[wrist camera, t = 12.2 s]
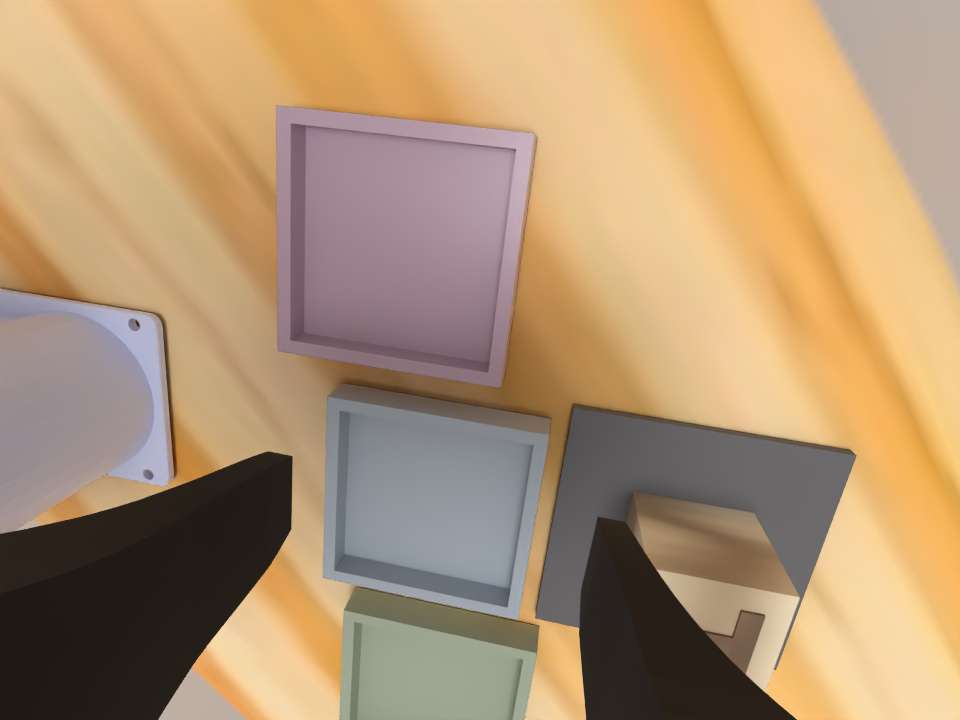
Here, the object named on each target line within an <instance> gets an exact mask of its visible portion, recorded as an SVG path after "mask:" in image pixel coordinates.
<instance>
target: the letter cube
mask: <svg viewBox="0 0 960 720" xmlns="http://www.w3.org/2000/svg"><path fill="white" fill-rule="evenodd" d="M626 523H627V525H628V526H629V528H630V529H631V531H632V533H633V534H634V536H635V537H636V539H637V540H638V542H639V544H640V545H641V547H642V548H643V550H644V552H645V553H646V555H647V556H648V558H649V559H650V561H651V562H652V564H653V565H654V567H655V568H656V570H657V571H658V573H659V574H660V576H661V577H662V578H663V580H664V581H665V583H666V584H667V585H668V587H669V588H670V590H671V591H672V592H673V594H674V595H675V596H676V598H677V599H678V600H679V602H680V603H681V604H682V605H683V607H684V608H685V609H686V610H687V612H688V613H689V614H690V615H691V617H692V618H693V619H694V620H695V621H696V623H697V624H698V625H699V626H700V627H701V628H702V630H703V631H704V632H705V633H706V634H707V635H708V636H709V637H710V638H711V639H712V641H713V642H714V643H715V644H716V645H717V646H718V647H719V648H720V649H721V650H722V651H723V652H724V653H725V654H726V655H727V657H728V658H729V659H730V660H731V661H732V662H733V663H734V664H735V665H736V666H737V667H738V668H739V669H740V670H742V671H743V672H744V673H745V674H746V675H747V676H748V677H749V678H750V679H751V680H752V681H753V682H754V683H755V684H757V685H758V686H759V687H760V688H761V689H762V690H763V691H764V692H765V691H766V689H767V686H768V683H769V680H770V678H771V675H772V672H773V670H774V667H775V664H776V661H777V659H778V656H779V653H780V651H781V648H782V645H783V642H784V640H785V637H786V634H787V632H788V629H789V626H790V623H791V621H792V618H793V615H794V613H795V610H796V607H797V604H798V602H799V599H800V597H799V595H798V593H797V591H796V589H795V587H794V585H793V584H792V582H791V580H790V578H789V576H788V574H787V573H786V571H785V569H784V567H783V565H782V563H781V561H780V560H779V558H778V556H777V554H776V552H775V550H774V549H773V547H772V545H771V543H770V541H769V539H768V537H767V536H766V534H765V532H764V530H763V528H762V526H761V525H760V523H759V521H758V519H757V517H756V515H755V513H751V512H746V511H740V510H735V509H729V508H724V507H718V506H713V505H707V504H701V503H696V502H690V501H685V500H679V499H674V498H668V497H662V496H657V495H651V494H646V493H640V492H635V491H633V494H632V499H631V503H630V507H629V512H628V516H627V521H626Z"/></svg>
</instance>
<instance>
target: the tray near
mask: <svg viewBox="0 0 960 720" xmlns="http://www.w3.org/2000/svg"><path fill="white" fill-rule="evenodd" d="M536 144H537V136H536V135H535V134H534V133H526V132H517V131H508V130H498V129H489V128H480V127H471V126H462V125H453V124H444V123H434V122H425V121H416V120H407V119H398V118H389V117H380V116H370V115H361V114H352V113H343V112H334V111H325V110H316V109H306V108H297V107H288V106H279V105H276V153H277V297H278V351H280V352H286V353H292V354H298V355H304V356H310V357H316V358H322V359H328V360H334V361H340V362H346V363H352V364H358V365H364V366H370V367H376V368H382V369H388V370H394V371H400V372H406V373H412V374H419V375H425V376H431V377H437V378H443V379H449V380H455V381H461V382H467V383H473V384H479V385H485V386H491V387H497V388H500V387H501V385H502V382H503V379H504V376H505V372H506V365H507V358H508V350H509V343H510V336H511V328H512V321H513V314H514V306H515V299H516V292H517V284H518V277H519V269H520V262H521V255H522V247H523V240H524V233H525V225H526V218H527V211H528V203H529V196H530V189H531V181H532V174H533V167H534V159H535V152H536Z"/></svg>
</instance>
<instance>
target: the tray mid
mask: <svg viewBox="0 0 960 720" xmlns="http://www.w3.org/2000/svg"><path fill="white" fill-rule="evenodd" d="M550 425H551V419H550V418H545V417H539V416H533V415H527V414H521V413H515V412H509V411H504V410H498V409H492V408H486V407H480V406H474V405H468V404H463V403H457V402H451V401H445V400H439V399H433V398H427V397H422V396H416V395H410V394H404V393H398V392H392V391H386V390H381V389H375V388H369V387H363V386H357V385H351V384H346V383H342V384H341V385H340V386H339V387H338V388H337V389H335V390H334V391H333V392H332V393H331V394H330V395H329V396H327V430H326V471H325V512H324V553H323V578H326V579H331V580H335V581H340V582H345V583H349V584H354V585H358V586H363V587H368V588H372V589H377V590H382V591H386V592H391V593H396V594H400V595H405V596H409V597H414V598H419V599H423V600H428V601H433V602H437V603H442V604H446V605H451V606H456V607H460V608H465V609H470V610H474V611H479V612H483V613H488V614H493V615H497V616H502V617H507V618H511V619H516V620H518V617H519V611H520V605H521V599H522V594H523V588H524V582H525V576H526V570H527V564H528V558H529V552H530V547H531V541H532V535H533V529H534V523H535V517H536V511H537V505H538V500H539V494H540V488H541V482H542V476H543V470H544V464H545V458H546V453H547V447H548V441H549V435H550Z"/></svg>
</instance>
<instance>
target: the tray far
mask: <svg viewBox="0 0 960 720" xmlns="http://www.w3.org/2000/svg"><path fill="white" fill-rule="evenodd" d="M538 632H539V626H536V625H531V624H527V623H522V622H518V621H513V620H508V619H504V618H499V617H494V616H490V615H485V614H481V613H476V612H471V611H467V610H462V609H457V608H453V607H448V606H444V605H439V604H434V603H430V602H425V601H420V600H416V599H411V598H407V597H402V596H397V595H393V594H388V593H383V592H379V591H374V590H370V589H365V588H360V587H356V589H355V591H354V593H353V594H352V596H351V598H350V600H349V602H348V604H347V605H346V607H345V609H344V619H343V644H342V669H341V694H340V718H339V720H524V718H525V713H526V708H527V702H528V697H529V692H530V687H531V681H532V676H533V671H534V665H535V660H536V655H537V645H538Z"/></svg>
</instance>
